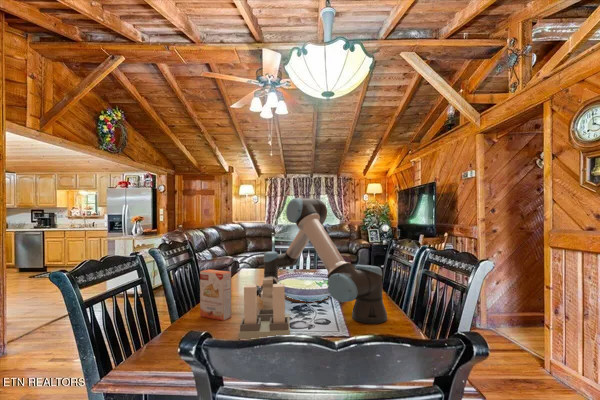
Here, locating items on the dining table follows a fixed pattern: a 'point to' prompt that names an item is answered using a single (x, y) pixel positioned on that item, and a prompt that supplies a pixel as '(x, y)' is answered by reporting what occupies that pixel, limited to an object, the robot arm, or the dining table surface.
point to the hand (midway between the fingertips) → (267, 297)
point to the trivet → (299, 300)
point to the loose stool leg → (267, 293)
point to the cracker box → (215, 294)
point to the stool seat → (264, 315)
